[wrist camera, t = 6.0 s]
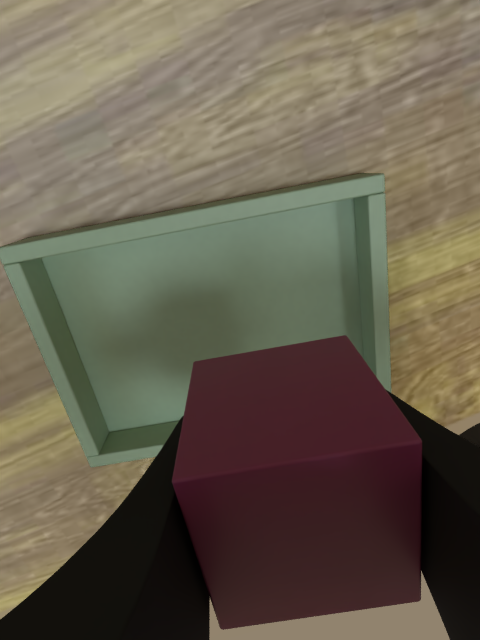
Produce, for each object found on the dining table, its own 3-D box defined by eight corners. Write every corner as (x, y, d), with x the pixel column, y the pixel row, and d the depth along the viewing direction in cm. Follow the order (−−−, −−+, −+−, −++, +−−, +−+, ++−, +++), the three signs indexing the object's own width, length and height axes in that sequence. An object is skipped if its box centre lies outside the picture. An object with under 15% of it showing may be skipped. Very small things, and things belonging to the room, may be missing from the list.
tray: (374, 391, 20) (392, 418, 18) (104, 436, 21) (90, 468, 19) (363, 172, 16) (385, 172, 14) (25, 238, 17) (-6, 248, 15)
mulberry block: (356, 455, 12) (422, 602, 8) (222, 476, 12) (220, 631, 8) (346, 333, 11) (424, 440, 6) (192, 360, 11) (170, 481, 7)
